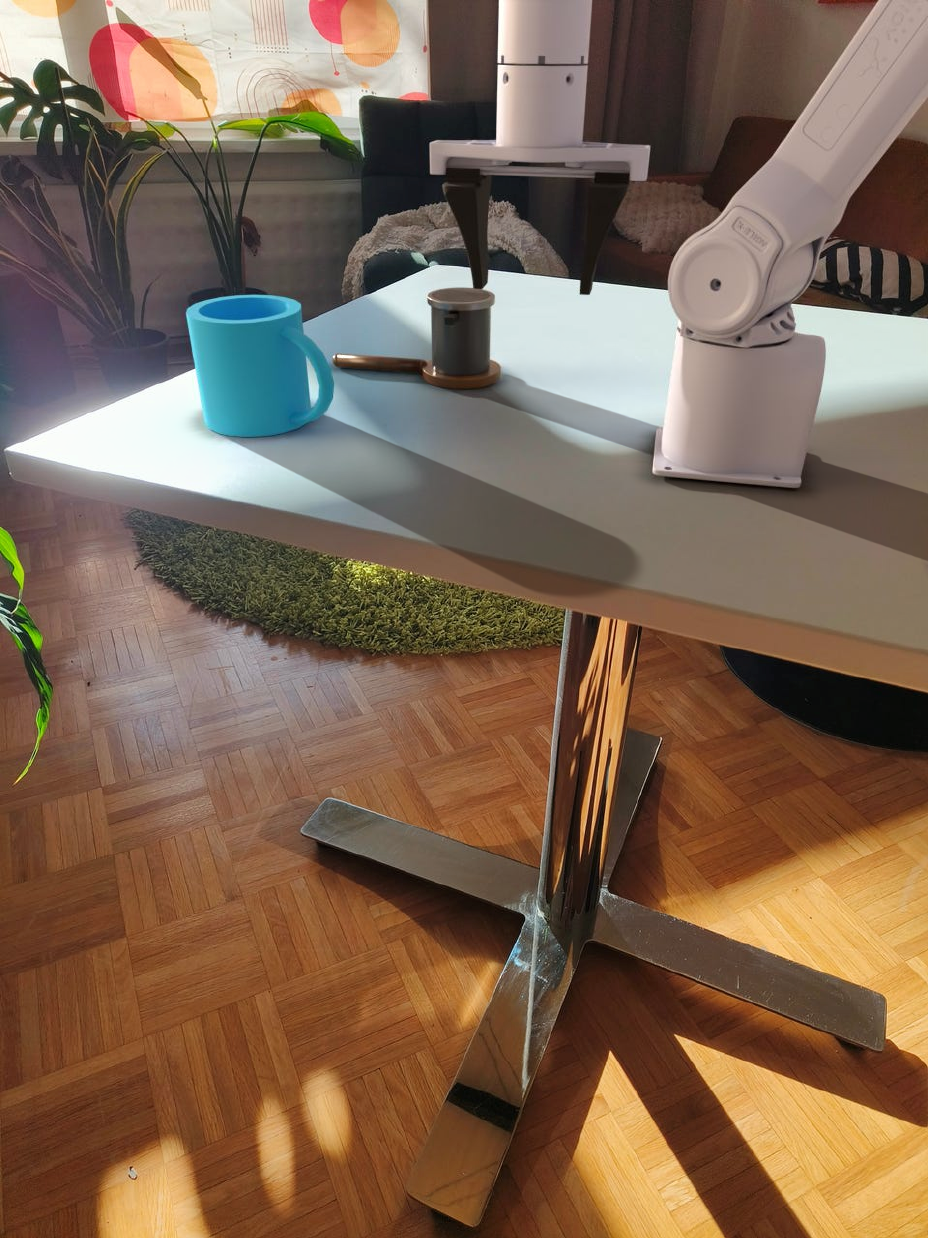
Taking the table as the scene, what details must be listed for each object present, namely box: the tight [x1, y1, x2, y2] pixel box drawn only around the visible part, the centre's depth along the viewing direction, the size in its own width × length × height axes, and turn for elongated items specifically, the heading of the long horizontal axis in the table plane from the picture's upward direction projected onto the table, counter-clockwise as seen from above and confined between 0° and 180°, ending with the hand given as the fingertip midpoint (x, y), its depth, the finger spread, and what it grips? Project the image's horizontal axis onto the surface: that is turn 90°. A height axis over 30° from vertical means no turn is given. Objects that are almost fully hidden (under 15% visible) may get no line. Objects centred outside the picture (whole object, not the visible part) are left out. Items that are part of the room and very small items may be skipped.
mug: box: [185, 294, 335, 438], centre depth 63 cm, size 12×8×8 cm
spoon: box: [332, 352, 502, 390], centre depth 75 cm, size 15×7×1 cm, turn 78°
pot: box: [426, 286, 496, 376], centre depth 72 cm, size 6×7×6 cm
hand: (532, 288), depth 62 cm, fingers open, 7 cm apart
